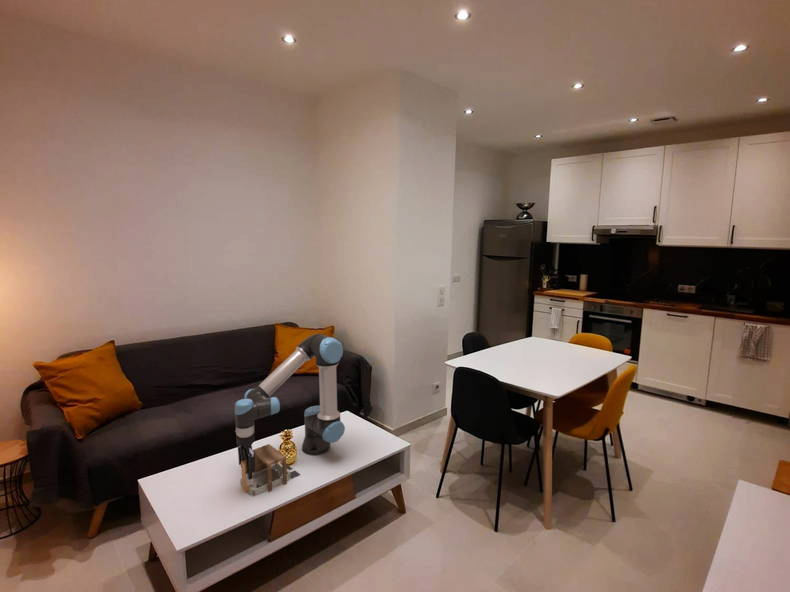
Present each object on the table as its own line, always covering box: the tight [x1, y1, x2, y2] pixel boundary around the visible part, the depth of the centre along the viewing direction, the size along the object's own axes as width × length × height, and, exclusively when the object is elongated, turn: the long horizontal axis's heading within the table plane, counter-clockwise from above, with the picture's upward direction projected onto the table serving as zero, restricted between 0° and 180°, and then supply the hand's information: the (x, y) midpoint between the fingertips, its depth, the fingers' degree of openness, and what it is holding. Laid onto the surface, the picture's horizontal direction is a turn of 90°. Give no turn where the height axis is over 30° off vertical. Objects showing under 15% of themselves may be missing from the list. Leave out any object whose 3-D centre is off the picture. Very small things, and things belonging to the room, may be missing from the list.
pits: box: [287, 465, 301, 480], centre depth 203 cm, size 5×12×1 cm, turn 45°
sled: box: [240, 460, 291, 497], centre depth 193 cm, size 20×12×14 cm, turn 135°
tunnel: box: [252, 443, 288, 493], centre depth 194 cm, size 9×16×14 cm, turn 45°
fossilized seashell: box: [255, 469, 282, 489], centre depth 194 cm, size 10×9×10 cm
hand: (247, 482), depth 187 cm, fingers closed on sled, 3 cm apart
